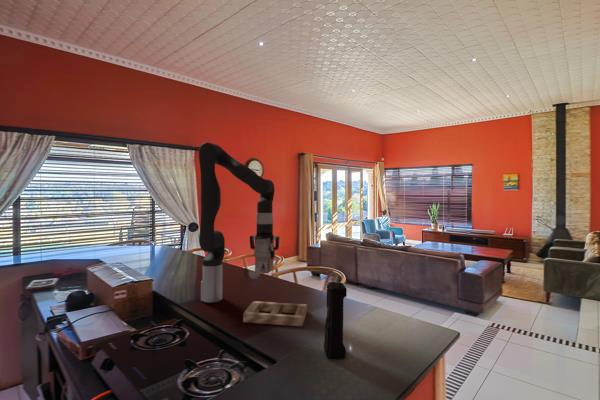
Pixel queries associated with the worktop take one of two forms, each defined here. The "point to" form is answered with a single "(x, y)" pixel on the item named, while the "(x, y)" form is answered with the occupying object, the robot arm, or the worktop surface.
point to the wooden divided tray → (275, 313)
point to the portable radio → (335, 321)
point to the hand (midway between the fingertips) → (264, 258)
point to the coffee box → (263, 255)
